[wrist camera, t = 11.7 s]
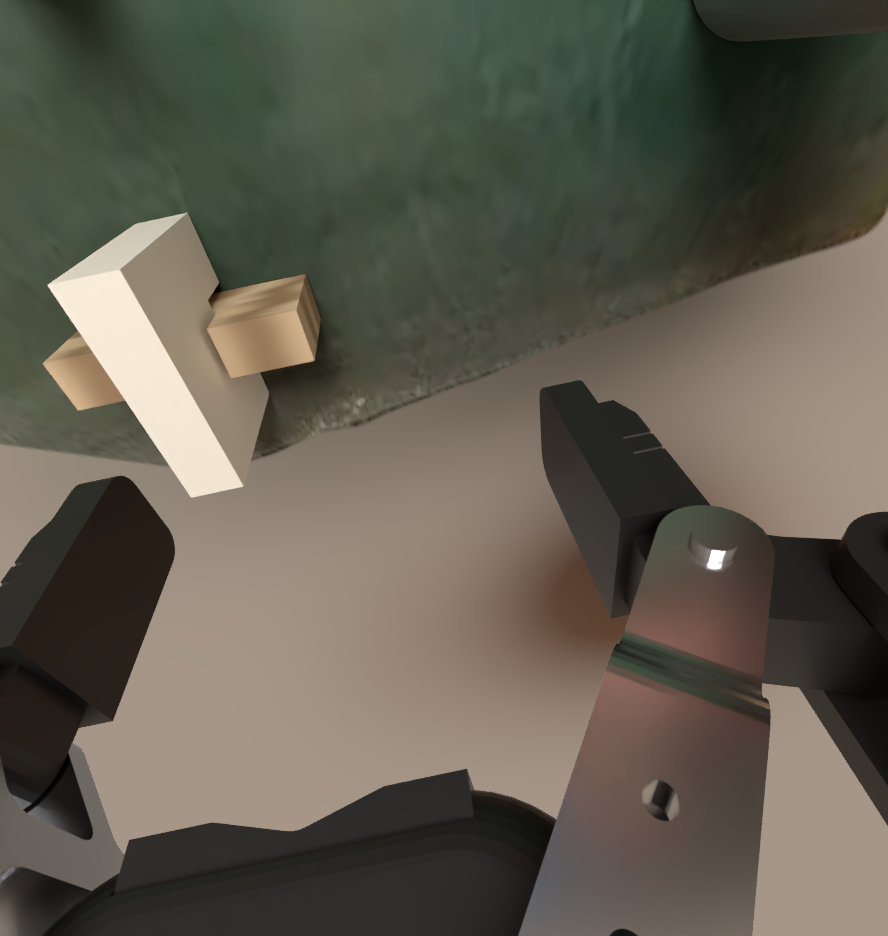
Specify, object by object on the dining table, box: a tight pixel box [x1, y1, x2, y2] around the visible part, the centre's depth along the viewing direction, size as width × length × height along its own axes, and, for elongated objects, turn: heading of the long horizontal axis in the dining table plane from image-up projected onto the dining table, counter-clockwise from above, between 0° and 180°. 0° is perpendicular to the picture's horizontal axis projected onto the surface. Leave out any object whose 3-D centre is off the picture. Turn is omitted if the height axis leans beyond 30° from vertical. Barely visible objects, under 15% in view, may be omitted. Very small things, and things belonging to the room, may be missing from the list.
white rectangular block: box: [48, 213, 269, 497], centre depth 33 cm, size 14×4×12 cm, turn 10°
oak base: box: [43, 274, 321, 410], centre depth 34 cm, size 16×4×7 cm, turn 100°
